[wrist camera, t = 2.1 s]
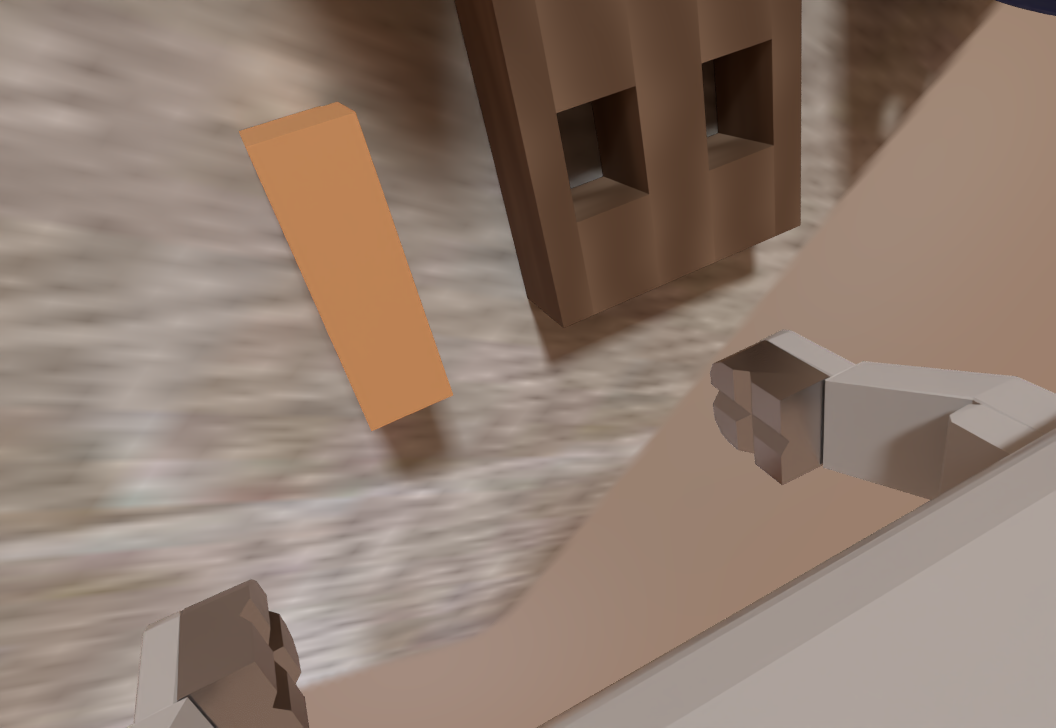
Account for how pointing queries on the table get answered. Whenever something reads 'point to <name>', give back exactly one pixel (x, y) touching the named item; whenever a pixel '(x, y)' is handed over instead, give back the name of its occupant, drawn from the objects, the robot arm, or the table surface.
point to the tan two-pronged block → (350, 257)
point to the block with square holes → (638, 137)
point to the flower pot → (1034, 5)
